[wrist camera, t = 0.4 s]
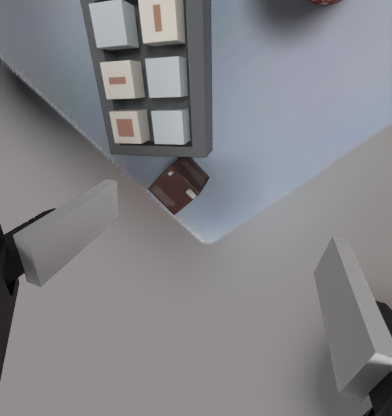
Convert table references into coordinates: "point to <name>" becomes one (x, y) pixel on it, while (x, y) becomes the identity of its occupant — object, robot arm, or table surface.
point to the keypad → (196, 100)
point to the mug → (324, 1)
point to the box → (179, 184)
